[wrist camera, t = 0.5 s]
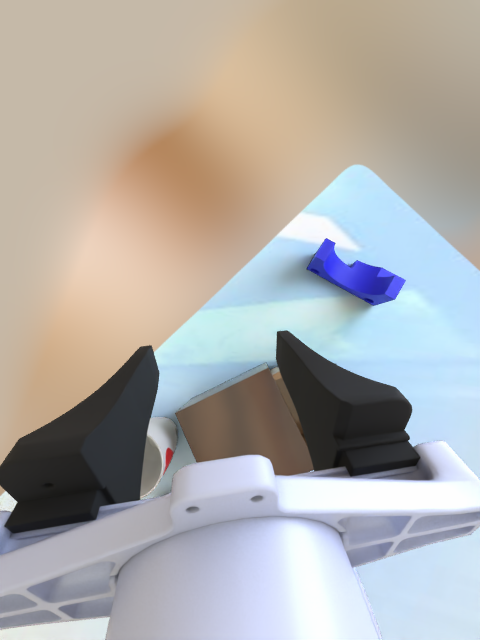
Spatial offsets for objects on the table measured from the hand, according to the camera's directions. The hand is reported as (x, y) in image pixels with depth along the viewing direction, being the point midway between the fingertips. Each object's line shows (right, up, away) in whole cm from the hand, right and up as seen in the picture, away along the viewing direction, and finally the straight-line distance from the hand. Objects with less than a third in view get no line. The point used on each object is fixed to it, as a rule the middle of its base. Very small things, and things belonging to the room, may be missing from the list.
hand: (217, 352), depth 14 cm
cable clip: (+18, +9, +26) cm, 33 cm away
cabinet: (+2, -14, +25) cm, 28 cm away
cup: (-11, -16, +25) cm, 32 cm away
